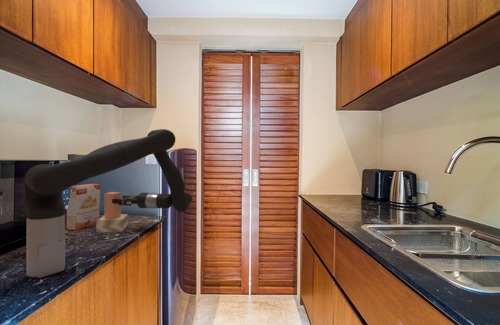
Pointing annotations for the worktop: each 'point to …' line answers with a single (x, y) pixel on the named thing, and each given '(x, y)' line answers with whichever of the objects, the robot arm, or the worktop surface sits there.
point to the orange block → (111, 205)
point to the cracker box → (83, 206)
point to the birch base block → (112, 224)
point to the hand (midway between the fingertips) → (117, 199)
